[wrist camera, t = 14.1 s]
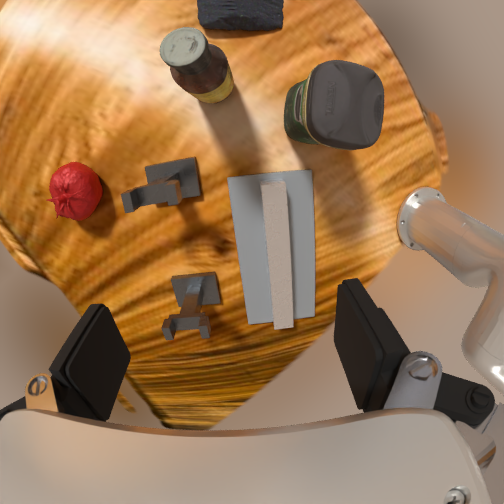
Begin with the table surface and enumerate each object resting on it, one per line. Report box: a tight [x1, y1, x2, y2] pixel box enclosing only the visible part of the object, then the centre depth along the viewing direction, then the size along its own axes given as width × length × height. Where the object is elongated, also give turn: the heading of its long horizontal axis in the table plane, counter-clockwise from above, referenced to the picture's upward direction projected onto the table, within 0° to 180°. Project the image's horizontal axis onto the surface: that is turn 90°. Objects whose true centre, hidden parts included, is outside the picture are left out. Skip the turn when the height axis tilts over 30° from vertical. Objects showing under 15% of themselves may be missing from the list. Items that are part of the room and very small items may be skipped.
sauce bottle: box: [160, 27, 234, 103], centre depth 26 cm, size 6×6×20 cm
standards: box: [121, 157, 221, 340], centre depth 40 cm, size 8×26×12 cm, turn 6°
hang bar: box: [260, 179, 293, 330], centre depth 45 cm, size 4×26×4 cm, turn 6°
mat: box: [227, 169, 315, 324], centre depth 47 cm, size 13×28×1 cm, turn 6°
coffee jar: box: [284, 60, 384, 150], centre depth 29 cm, size 10×8×19 cm
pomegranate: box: [48, 162, 103, 221], centre depth 37 cm, size 10×10×9 cm
